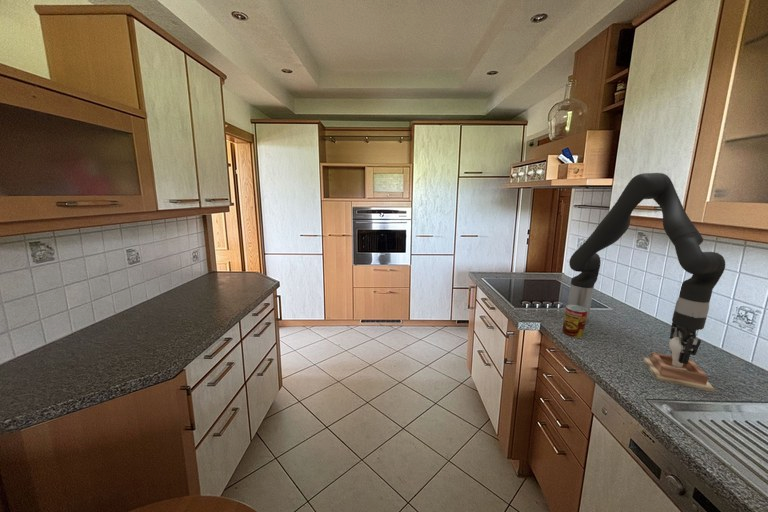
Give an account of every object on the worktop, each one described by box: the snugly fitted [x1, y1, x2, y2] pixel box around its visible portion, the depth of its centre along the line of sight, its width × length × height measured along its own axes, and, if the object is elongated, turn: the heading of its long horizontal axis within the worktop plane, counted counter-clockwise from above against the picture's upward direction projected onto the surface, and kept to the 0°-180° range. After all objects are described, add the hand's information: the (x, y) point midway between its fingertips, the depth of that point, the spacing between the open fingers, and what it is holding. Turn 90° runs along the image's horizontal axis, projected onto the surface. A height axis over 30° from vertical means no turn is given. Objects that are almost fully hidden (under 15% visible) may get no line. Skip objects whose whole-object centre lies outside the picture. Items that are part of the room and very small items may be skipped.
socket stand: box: [642, 351, 716, 393], centre depth 102 cm, size 14×14×4 cm
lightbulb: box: [668, 337, 687, 368], centre depth 101 cm, size 6×6×11 cm
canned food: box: [561, 304, 588, 339], centre depth 130 cm, size 8×8×12 cm
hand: (678, 358), depth 101 cm, fingers closed on lightbulb, 5 cm apart
